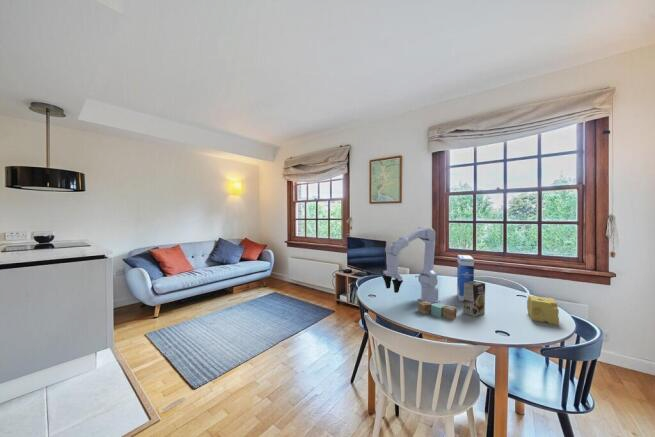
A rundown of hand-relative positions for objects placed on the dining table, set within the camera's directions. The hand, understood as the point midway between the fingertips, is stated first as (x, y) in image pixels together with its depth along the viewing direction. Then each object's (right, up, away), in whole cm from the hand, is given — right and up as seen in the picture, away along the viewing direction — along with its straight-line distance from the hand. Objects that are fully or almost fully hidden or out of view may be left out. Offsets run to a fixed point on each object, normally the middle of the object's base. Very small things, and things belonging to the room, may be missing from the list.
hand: (392, 290), depth 135 cm
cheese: (+72, -11, -12) cm, 74 cm away
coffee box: (+42, -11, -6) cm, 43 cm away
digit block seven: (+26, -11, -11) cm, 30 cm away
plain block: (+22, -11, -8) cm, 25 cm away
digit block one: (+16, -10, -5) cm, 20 cm away
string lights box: (+49, -10, +16) cm, 52 cm away
